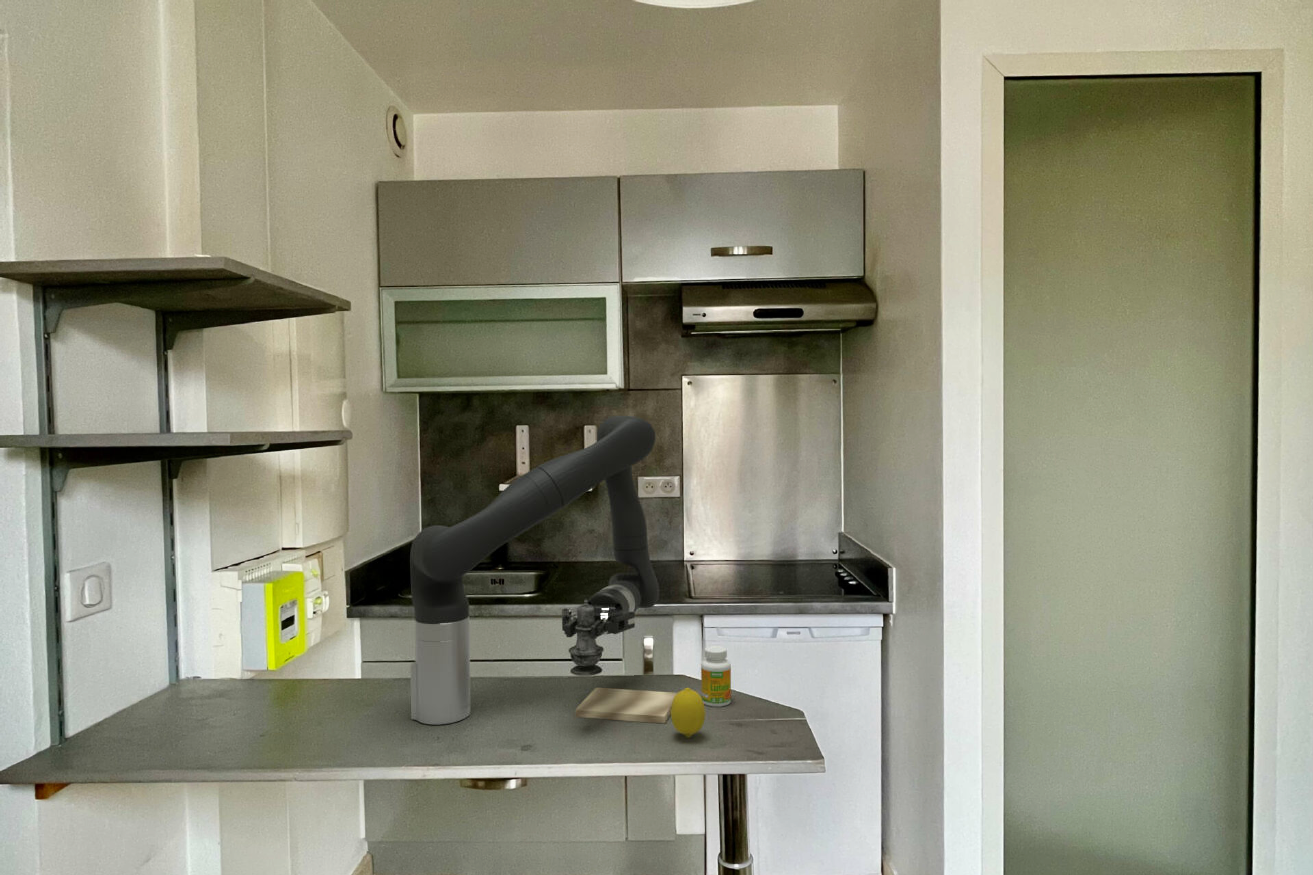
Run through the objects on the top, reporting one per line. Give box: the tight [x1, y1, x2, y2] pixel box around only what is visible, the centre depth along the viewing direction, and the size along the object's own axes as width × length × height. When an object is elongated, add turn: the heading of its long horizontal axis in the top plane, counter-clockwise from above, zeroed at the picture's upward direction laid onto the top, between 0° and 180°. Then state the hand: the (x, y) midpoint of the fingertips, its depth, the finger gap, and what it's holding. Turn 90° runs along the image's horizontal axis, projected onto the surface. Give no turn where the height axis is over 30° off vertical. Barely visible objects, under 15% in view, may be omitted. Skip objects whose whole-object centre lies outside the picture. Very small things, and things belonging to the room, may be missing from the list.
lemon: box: [670, 687, 706, 738], centre depth 123 cm, size 6×6×8 cm
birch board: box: [574, 687, 679, 724], centre depth 137 cm, size 16×12×1 cm
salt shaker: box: [567, 598, 605, 677], centre depth 127 cm, size 6×6×12 cm
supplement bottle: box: [700, 645, 732, 708], centre depth 139 cm, size 5×5×10 cm
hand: (580, 631), depth 124 cm, fingers closed on salt shaker, 3 cm apart
